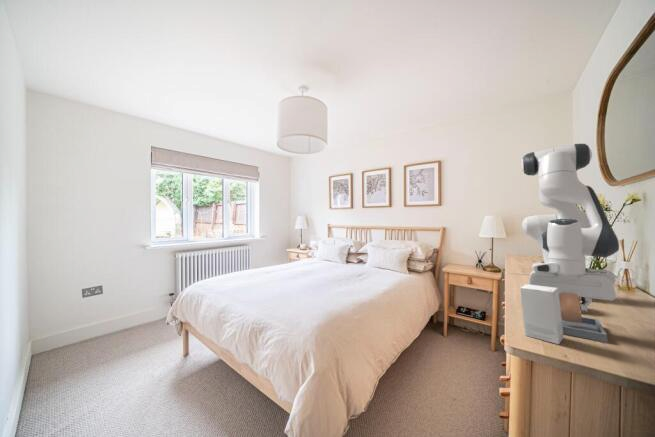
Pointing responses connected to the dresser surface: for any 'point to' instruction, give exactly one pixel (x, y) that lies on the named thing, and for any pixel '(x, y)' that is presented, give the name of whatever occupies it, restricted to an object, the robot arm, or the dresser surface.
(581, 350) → the dresser surface
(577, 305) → the pinkish-tan rounded block
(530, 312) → the skincare box
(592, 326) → the tray
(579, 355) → the dresser surface
